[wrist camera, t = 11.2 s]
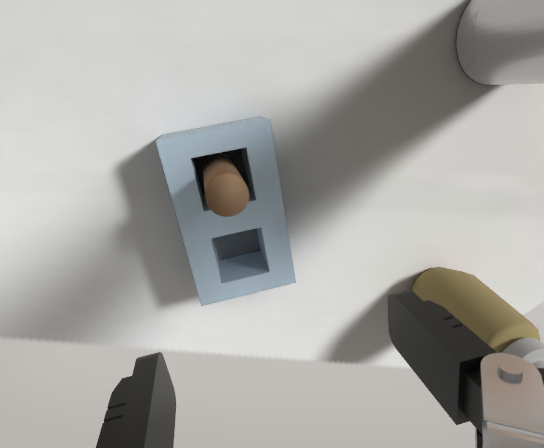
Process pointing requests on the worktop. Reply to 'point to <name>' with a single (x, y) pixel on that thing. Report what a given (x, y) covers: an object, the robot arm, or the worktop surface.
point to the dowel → (224, 186)
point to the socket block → (207, 225)
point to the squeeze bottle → (482, 312)
